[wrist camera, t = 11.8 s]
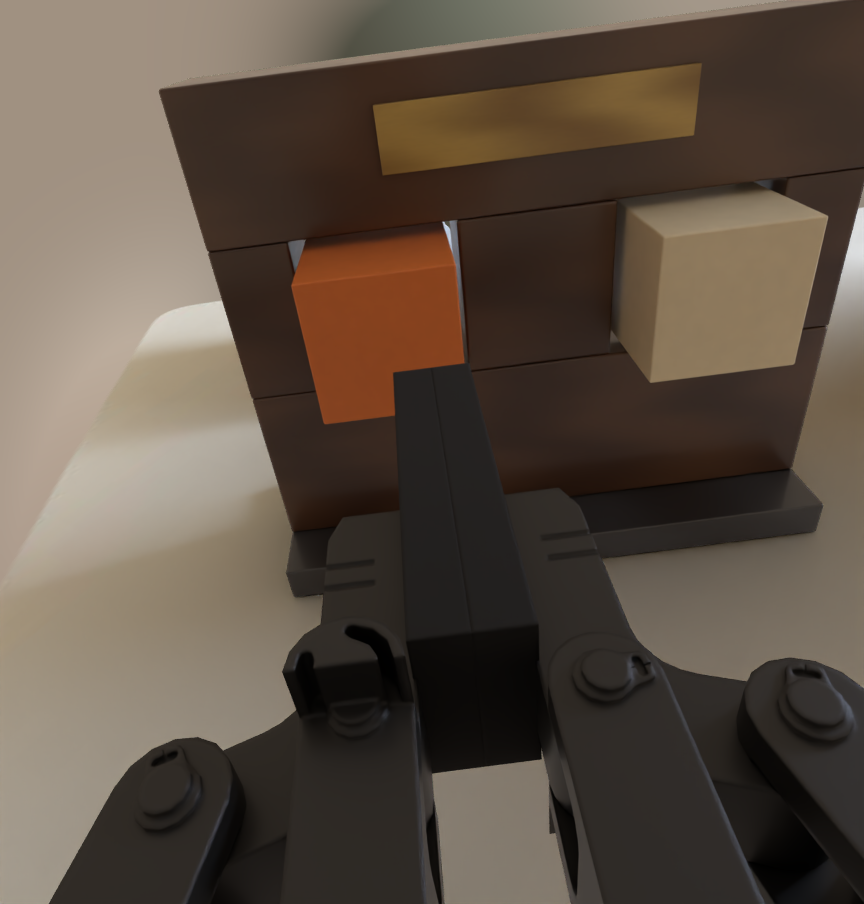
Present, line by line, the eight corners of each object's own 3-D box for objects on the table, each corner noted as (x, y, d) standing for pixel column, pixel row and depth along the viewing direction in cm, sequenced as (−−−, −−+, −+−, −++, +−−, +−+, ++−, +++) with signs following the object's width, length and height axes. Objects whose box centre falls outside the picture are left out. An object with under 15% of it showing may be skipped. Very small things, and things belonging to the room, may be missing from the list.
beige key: (729, 309, 21) (750, 179, 19) (795, 365, 18) (829, 215, 16) (607, 325, 21) (613, 197, 19) (649, 384, 18) (663, 237, 16)
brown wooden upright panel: (726, 424, 28) (800, -5, 19) (816, 531, 22) (979, -12, 14) (310, 477, 28) (203, 72, 20) (293, 597, 22) (130, 98, 14)
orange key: (454, 345, 21) (442, 219, 19) (468, 407, 18) (455, 263, 16) (332, 360, 21) (305, 237, 19) (324, 425, 18) (290, 285, 16)
